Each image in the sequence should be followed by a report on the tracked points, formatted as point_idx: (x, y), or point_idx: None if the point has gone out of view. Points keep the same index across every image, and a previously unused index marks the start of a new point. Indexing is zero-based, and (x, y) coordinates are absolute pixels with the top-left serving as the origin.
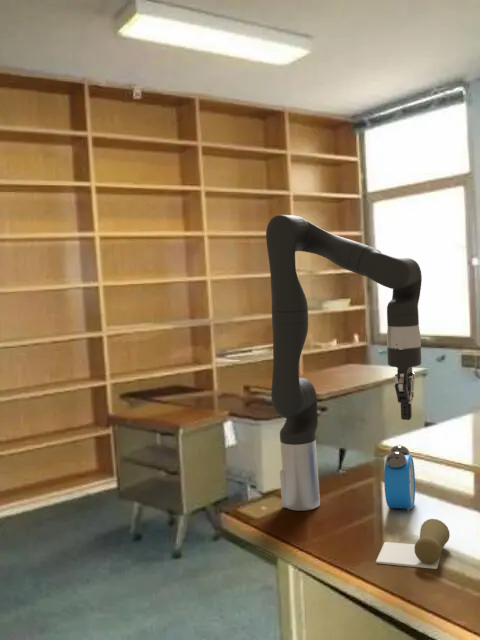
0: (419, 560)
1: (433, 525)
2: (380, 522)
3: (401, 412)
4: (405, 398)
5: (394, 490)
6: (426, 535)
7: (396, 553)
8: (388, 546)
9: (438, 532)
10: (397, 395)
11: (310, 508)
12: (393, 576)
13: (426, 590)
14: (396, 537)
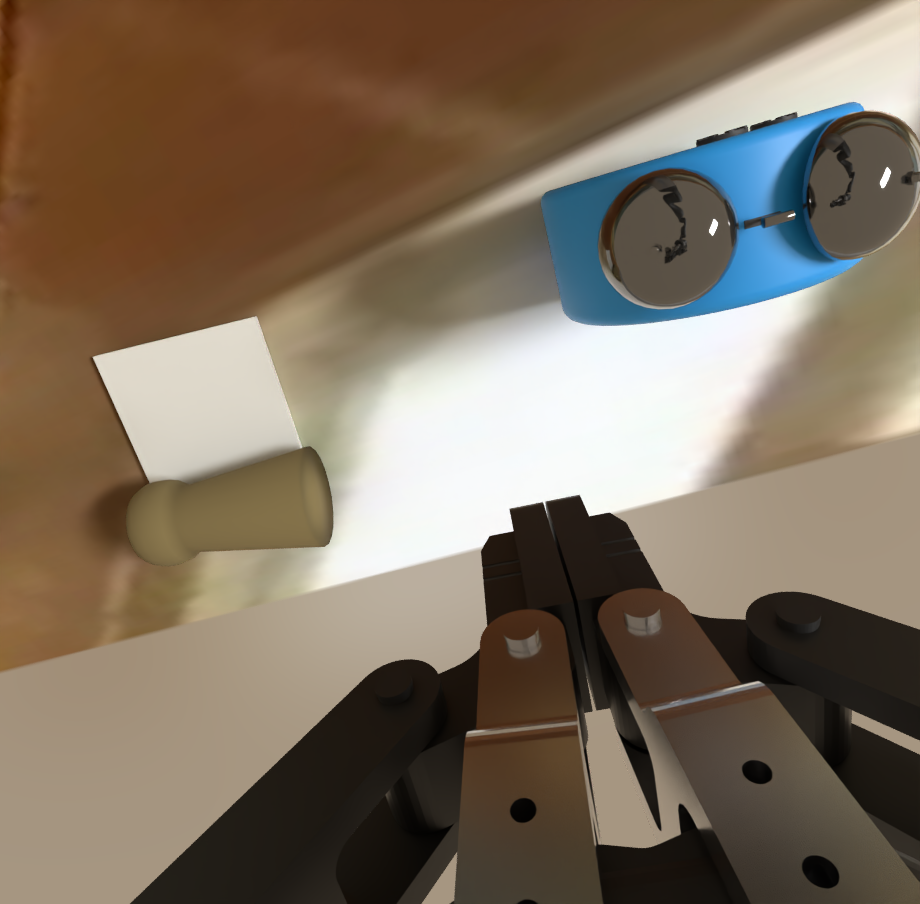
0: (184, 476)
1: (260, 528)
2: (445, 207)
3: (517, 547)
4: (393, 814)
5: (550, 248)
6: (188, 524)
7: (187, 394)
8: (225, 346)
9: (242, 546)
10: (228, 820)
11: None
12: (51, 440)
13: (39, 547)
14: (332, 331)
